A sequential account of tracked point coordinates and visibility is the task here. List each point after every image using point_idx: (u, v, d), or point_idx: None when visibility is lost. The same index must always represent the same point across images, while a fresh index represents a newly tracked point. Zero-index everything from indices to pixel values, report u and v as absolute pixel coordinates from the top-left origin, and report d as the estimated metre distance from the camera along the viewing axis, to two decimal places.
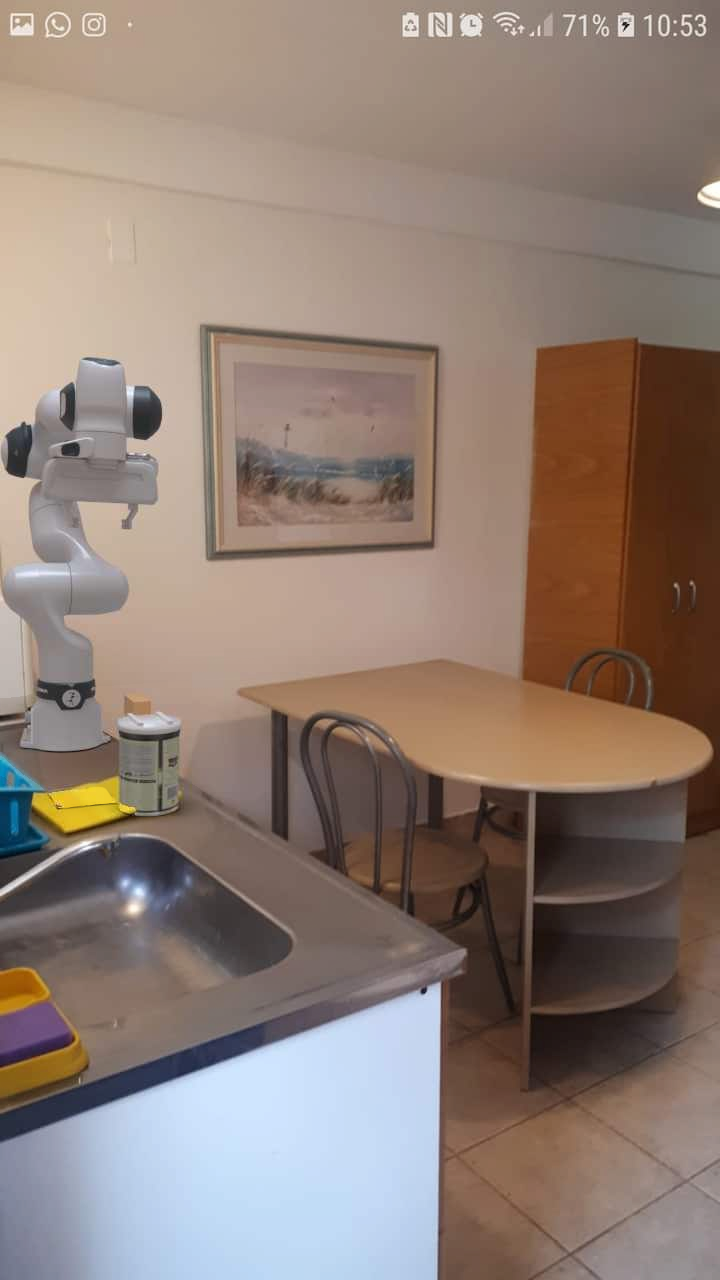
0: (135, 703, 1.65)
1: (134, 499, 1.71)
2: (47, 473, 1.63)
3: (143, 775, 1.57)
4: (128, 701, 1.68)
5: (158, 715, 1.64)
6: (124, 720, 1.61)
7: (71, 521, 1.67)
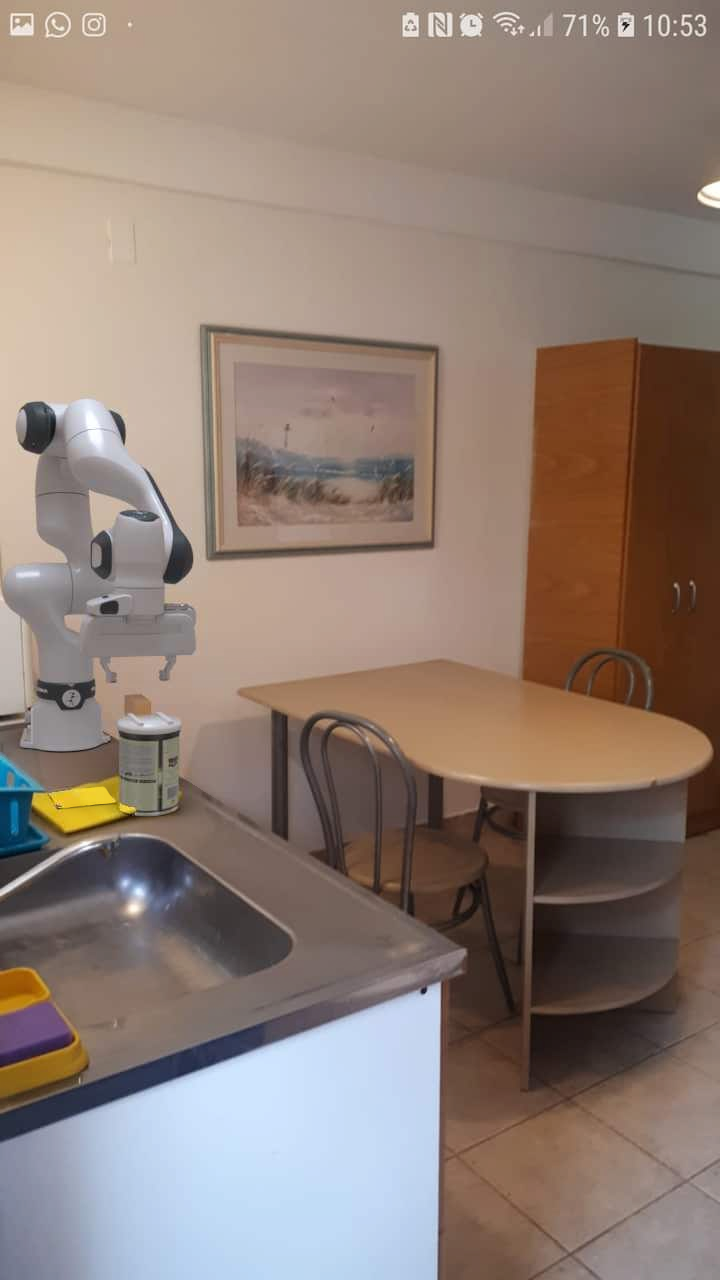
0: (135, 703, 1.65)
1: (172, 651, 1.68)
2: (85, 632, 1.61)
3: (143, 775, 1.57)
4: (128, 701, 1.68)
5: (158, 715, 1.64)
6: (124, 720, 1.61)
7: (109, 677, 1.65)
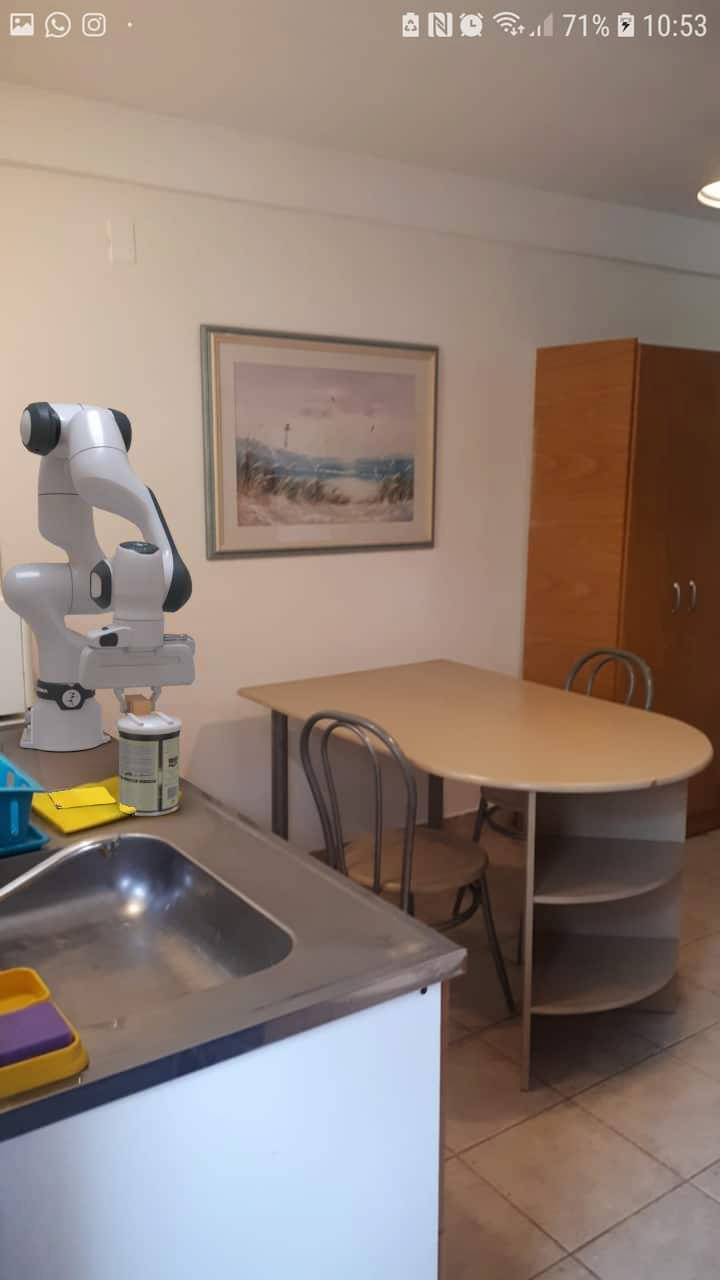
0: (135, 703, 1.65)
1: (171, 682, 1.69)
2: (85, 664, 1.61)
3: (143, 775, 1.57)
4: (128, 701, 1.68)
5: (158, 715, 1.64)
6: (124, 720, 1.61)
7: (123, 707, 1.67)
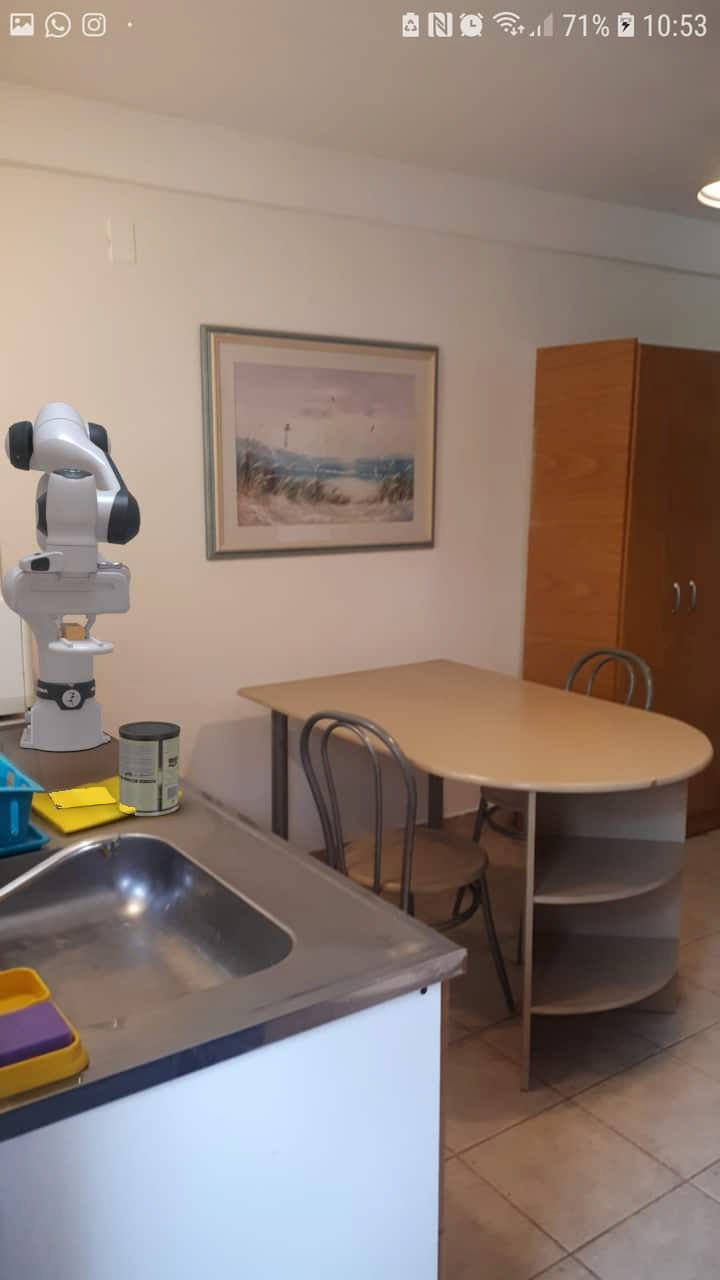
0: (68, 628, 1.66)
1: (106, 609, 1.70)
2: (17, 588, 1.62)
3: (143, 775, 1.57)
4: (62, 628, 1.69)
5: (91, 640, 1.65)
6: (55, 643, 1.61)
7: (56, 633, 1.68)
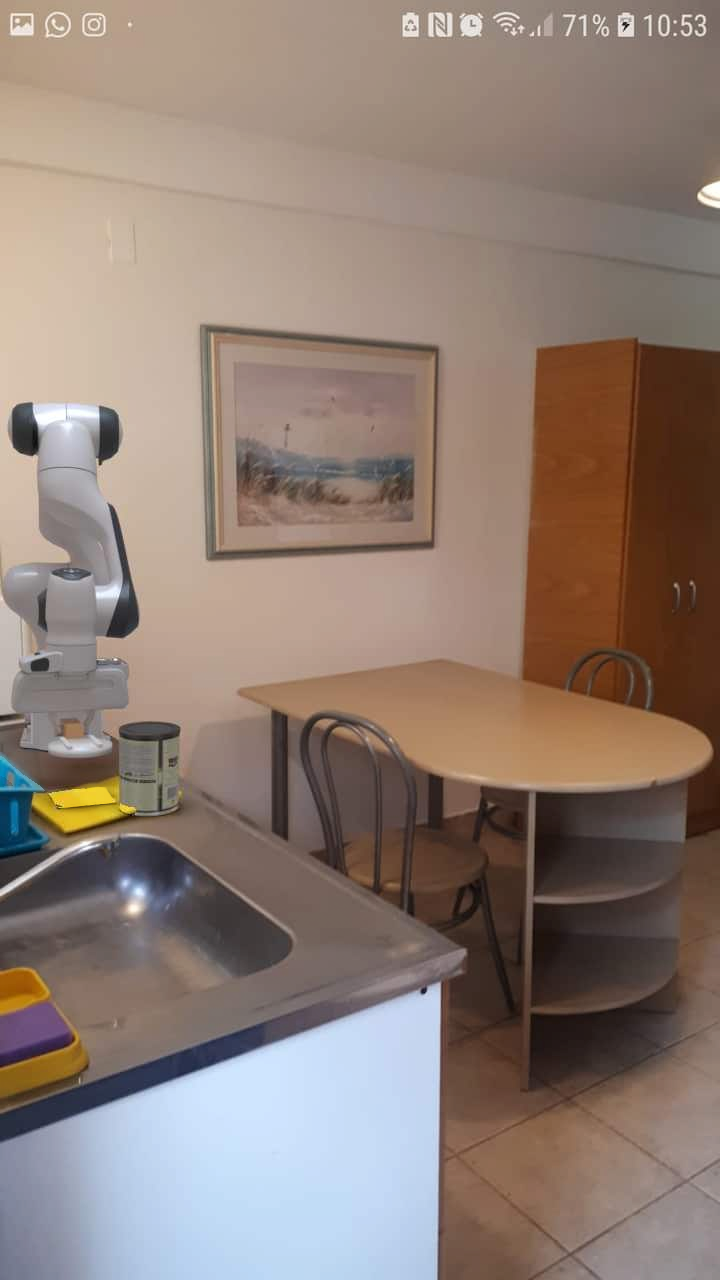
0: (68, 727, 1.67)
1: (105, 705, 1.72)
2: (17, 689, 1.64)
3: (143, 775, 1.57)
4: (62, 725, 1.71)
5: (90, 738, 1.67)
6: (55, 744, 1.63)
7: (56, 731, 1.69)
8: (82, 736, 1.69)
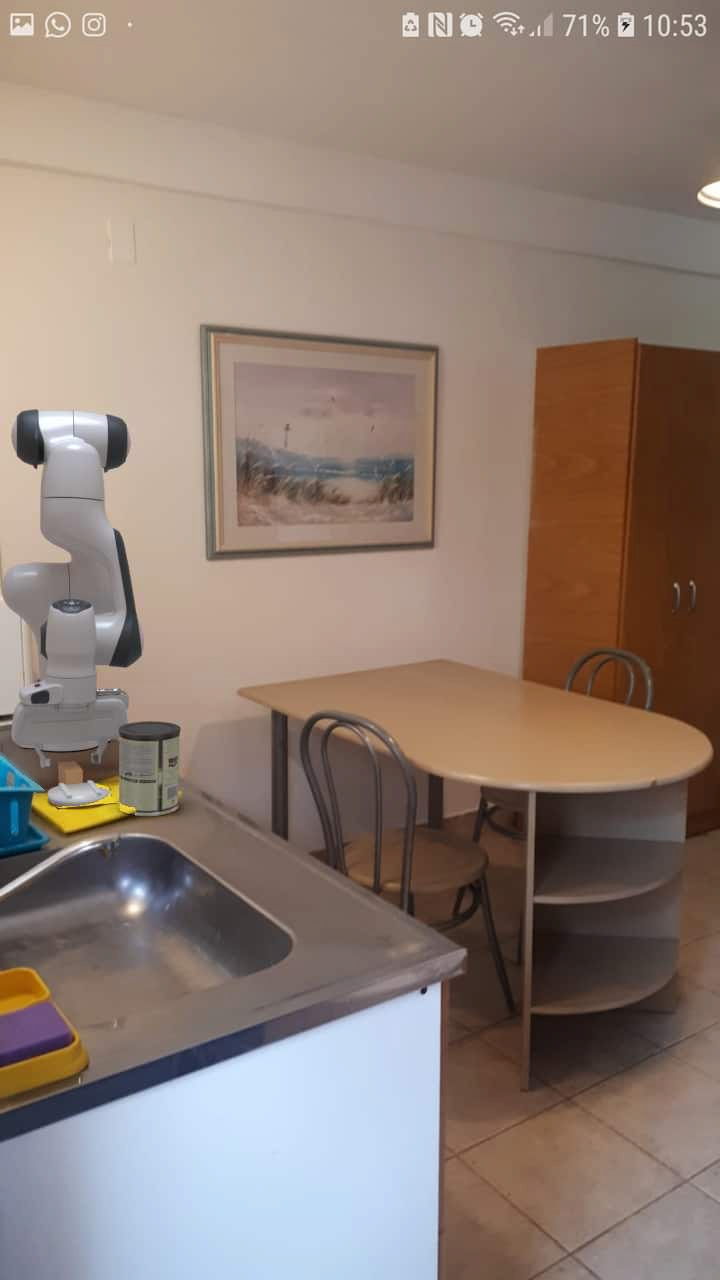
0: (67, 772, 1.69)
1: (104, 736, 1.73)
2: (17, 721, 1.65)
3: (143, 775, 1.57)
4: (61, 769, 1.72)
5: (89, 785, 1.68)
6: (54, 791, 1.65)
7: (43, 762, 1.69)
8: (81, 781, 1.70)
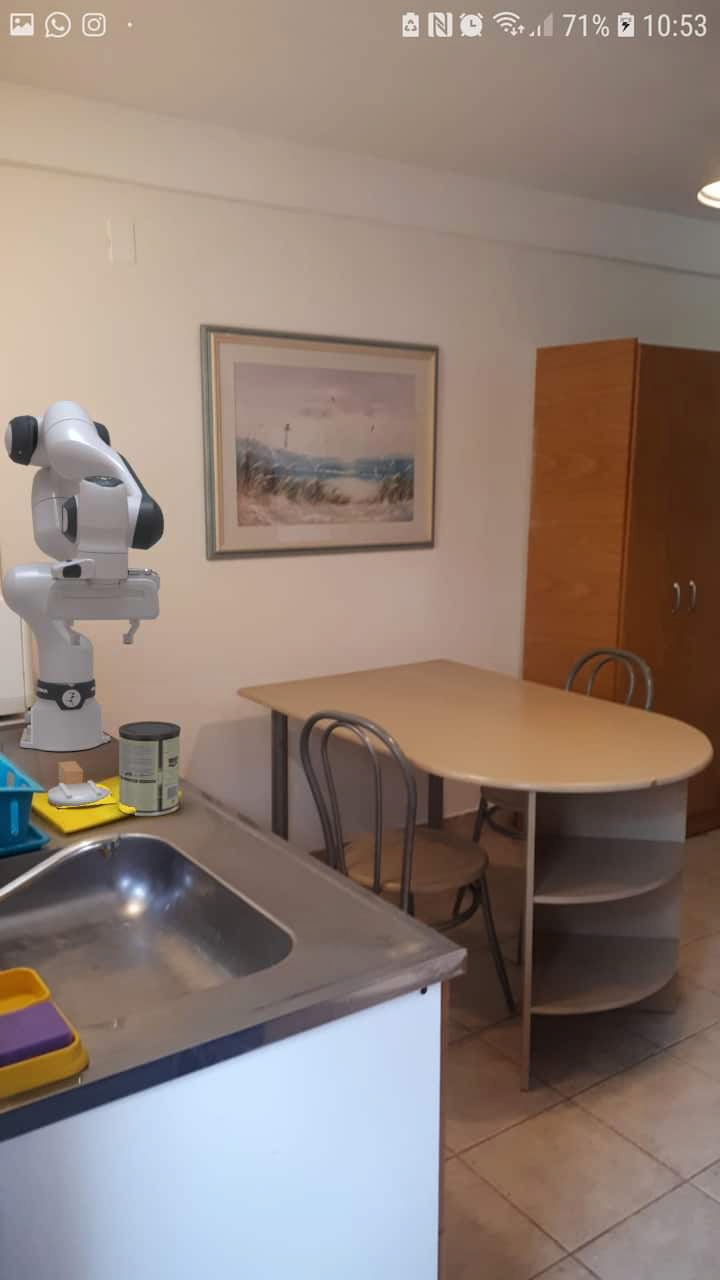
0: (67, 772, 1.69)
1: (135, 615, 1.71)
2: (48, 595, 1.64)
3: (143, 775, 1.57)
4: (61, 769, 1.72)
5: (89, 785, 1.68)
6: (54, 791, 1.65)
7: (72, 639, 1.68)
8: (81, 781, 1.70)
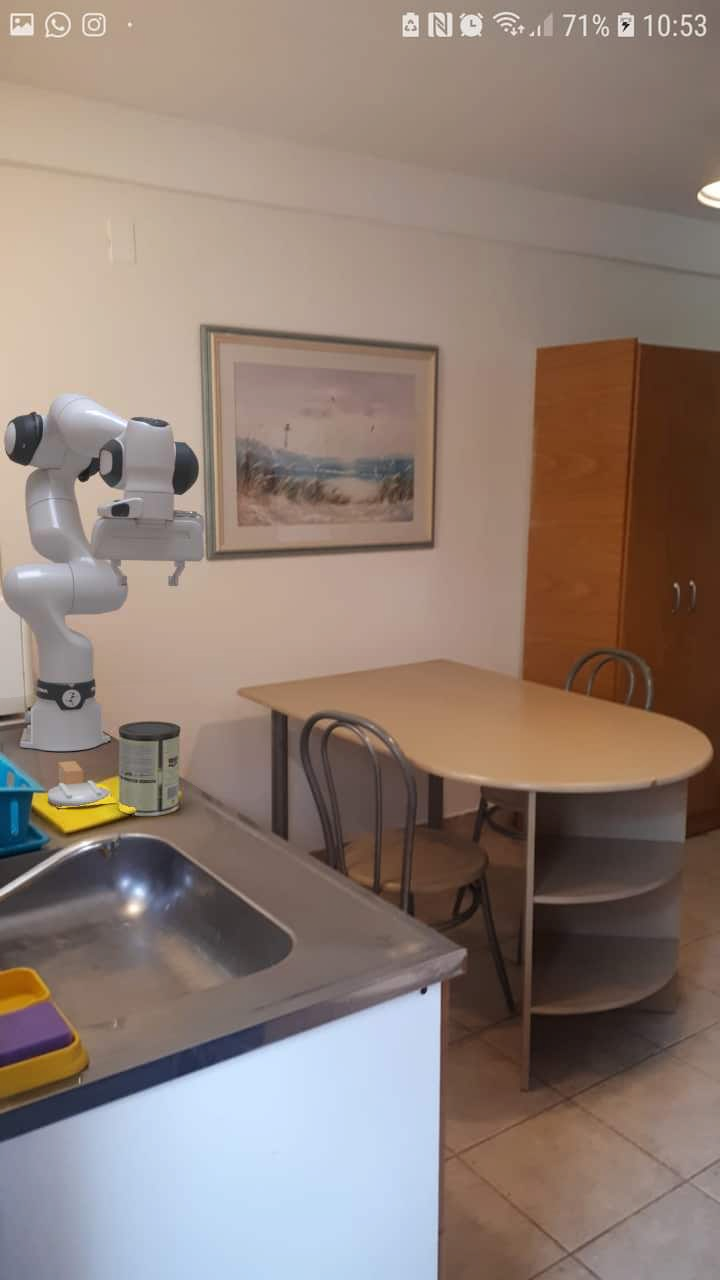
0: (67, 772, 1.69)
1: (181, 557, 1.73)
2: (97, 534, 1.65)
3: (143, 775, 1.57)
4: (61, 769, 1.72)
5: (89, 785, 1.68)
6: (54, 791, 1.65)
7: (120, 580, 1.69)
8: (81, 781, 1.70)
